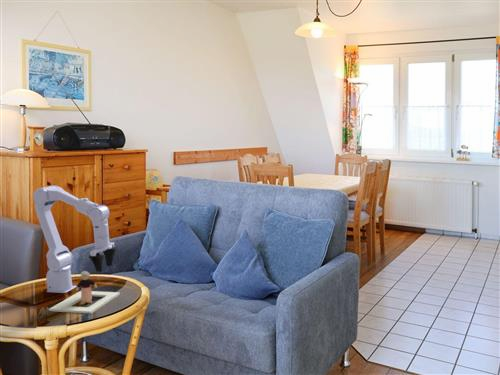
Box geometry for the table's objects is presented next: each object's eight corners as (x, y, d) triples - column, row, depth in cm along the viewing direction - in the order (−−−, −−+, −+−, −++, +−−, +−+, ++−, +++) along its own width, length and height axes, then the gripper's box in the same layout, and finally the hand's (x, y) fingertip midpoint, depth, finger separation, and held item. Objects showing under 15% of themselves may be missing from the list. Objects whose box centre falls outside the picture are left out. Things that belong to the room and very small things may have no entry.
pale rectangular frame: (49, 311, 184) (48, 308, 183) (81, 292, 203) (81, 290, 202) (91, 313, 179) (91, 311, 178) (119, 294, 198) (119, 292, 198)
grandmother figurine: (78, 306, 187) (75, 274, 185) (77, 303, 190) (73, 271, 189) (99, 301, 190) (96, 270, 189) (97, 299, 194) (94, 267, 192)
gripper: (100, 240, 190) (103, 274, 192) (119, 231, 204) (122, 263, 205) (84, 240, 192) (87, 273, 194) (104, 231, 206) (107, 263, 207)
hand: (104, 268), depth 200 cm, fingers open, 7 cm apart
